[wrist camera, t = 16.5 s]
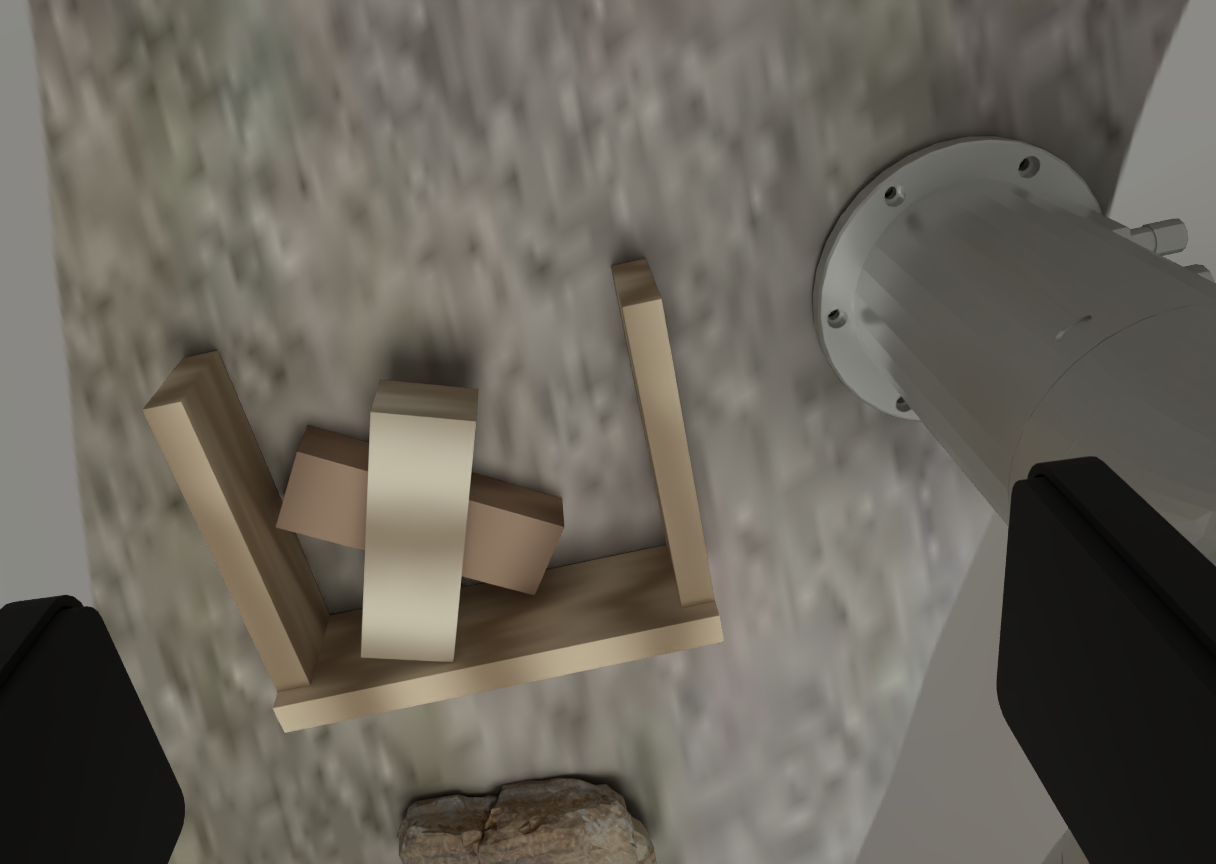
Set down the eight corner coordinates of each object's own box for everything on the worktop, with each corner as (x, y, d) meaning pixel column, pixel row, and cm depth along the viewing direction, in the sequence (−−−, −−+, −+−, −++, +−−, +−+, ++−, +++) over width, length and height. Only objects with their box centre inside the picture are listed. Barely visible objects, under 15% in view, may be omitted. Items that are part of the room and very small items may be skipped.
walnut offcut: (561, 492, 46) (564, 527, 43) (533, 558, 47) (534, 595, 45) (310, 419, 43) (296, 451, 40) (290, 492, 45) (275, 527, 42)
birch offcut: (456, 619, 45) (453, 662, 42) (370, 614, 44) (360, 657, 42) (478, 389, 40) (476, 421, 37) (380, 379, 39) (370, 412, 36)
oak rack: (645, 258, 40) (665, 308, 35) (701, 562, 48) (723, 641, 42) (183, 357, 41) (133, 421, 35) (310, 644, 48) (284, 732, 43)
